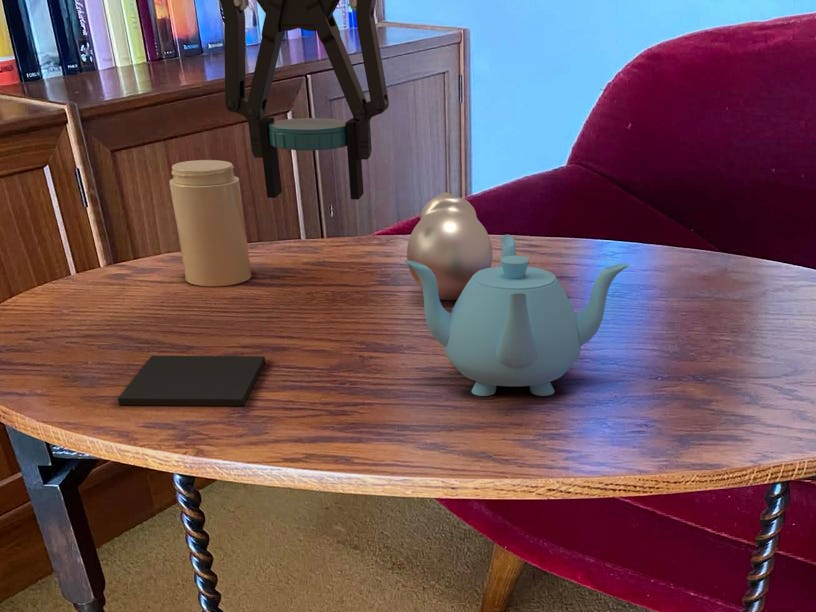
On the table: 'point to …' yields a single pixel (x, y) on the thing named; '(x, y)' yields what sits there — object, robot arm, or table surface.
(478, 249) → the shiny gold rounded piece
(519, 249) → the table surface
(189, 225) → the jar
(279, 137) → the jar lid
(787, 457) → the table surface
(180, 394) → the plate
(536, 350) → the teapot
